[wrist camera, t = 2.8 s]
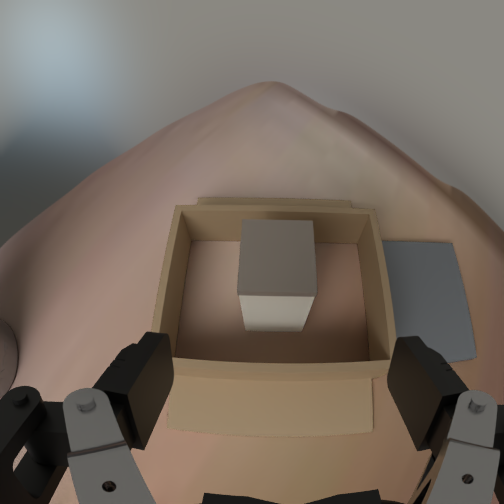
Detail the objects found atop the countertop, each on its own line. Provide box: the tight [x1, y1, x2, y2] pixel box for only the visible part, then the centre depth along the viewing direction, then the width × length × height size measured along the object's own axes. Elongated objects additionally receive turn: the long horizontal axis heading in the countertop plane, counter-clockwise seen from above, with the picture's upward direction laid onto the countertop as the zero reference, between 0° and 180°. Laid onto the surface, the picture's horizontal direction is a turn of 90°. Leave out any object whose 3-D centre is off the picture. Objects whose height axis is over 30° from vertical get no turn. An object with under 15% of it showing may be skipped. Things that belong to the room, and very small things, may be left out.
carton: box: [151, 198, 397, 437], centre depth 24 cm, size 17×22×4 cm
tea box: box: [237, 219, 317, 332], centre depth 23 cm, size 5×5×8 cm
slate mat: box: [382, 241, 477, 363], centre depth 25 cm, size 9×12×1 cm
